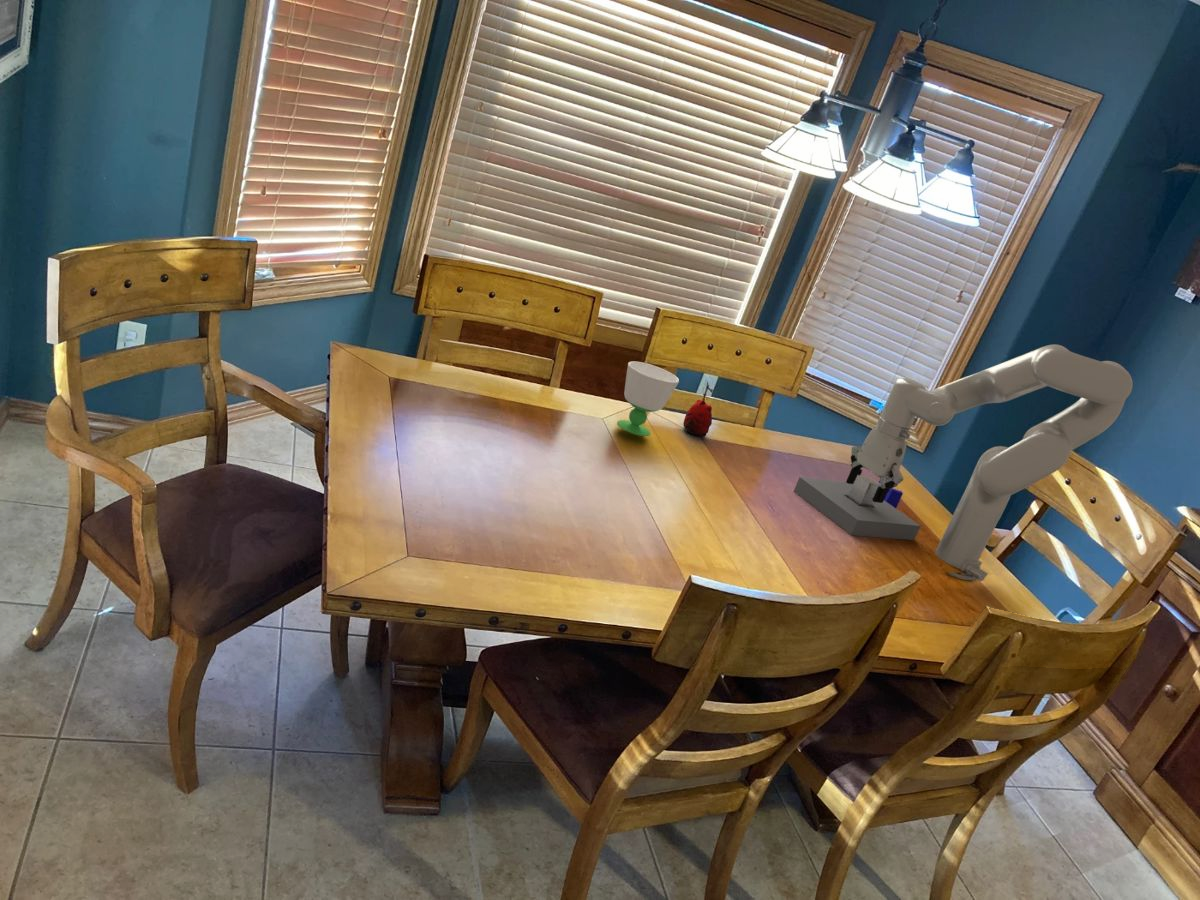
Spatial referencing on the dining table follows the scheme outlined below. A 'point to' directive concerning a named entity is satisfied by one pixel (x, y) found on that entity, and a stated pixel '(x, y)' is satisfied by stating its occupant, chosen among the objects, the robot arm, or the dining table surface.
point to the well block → (855, 511)
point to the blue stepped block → (893, 496)
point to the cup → (646, 394)
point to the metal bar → (863, 491)
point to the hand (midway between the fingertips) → (863, 492)
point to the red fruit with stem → (699, 417)
